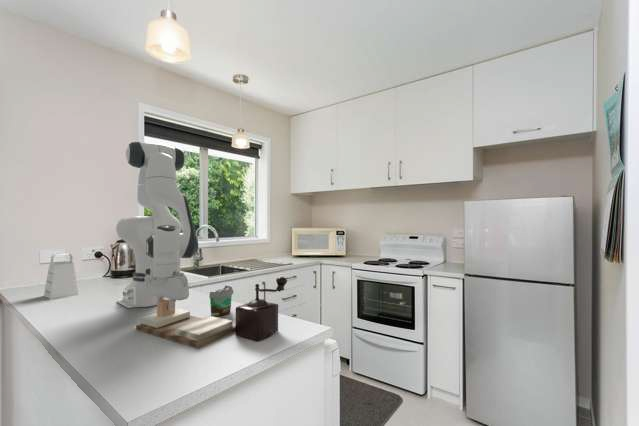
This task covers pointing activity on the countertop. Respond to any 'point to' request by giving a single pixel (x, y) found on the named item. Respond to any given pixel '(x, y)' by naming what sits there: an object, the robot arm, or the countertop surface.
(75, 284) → the grater
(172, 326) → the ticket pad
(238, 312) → the manual coffee grinder
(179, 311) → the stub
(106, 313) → the countertop surface
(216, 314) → the food container
